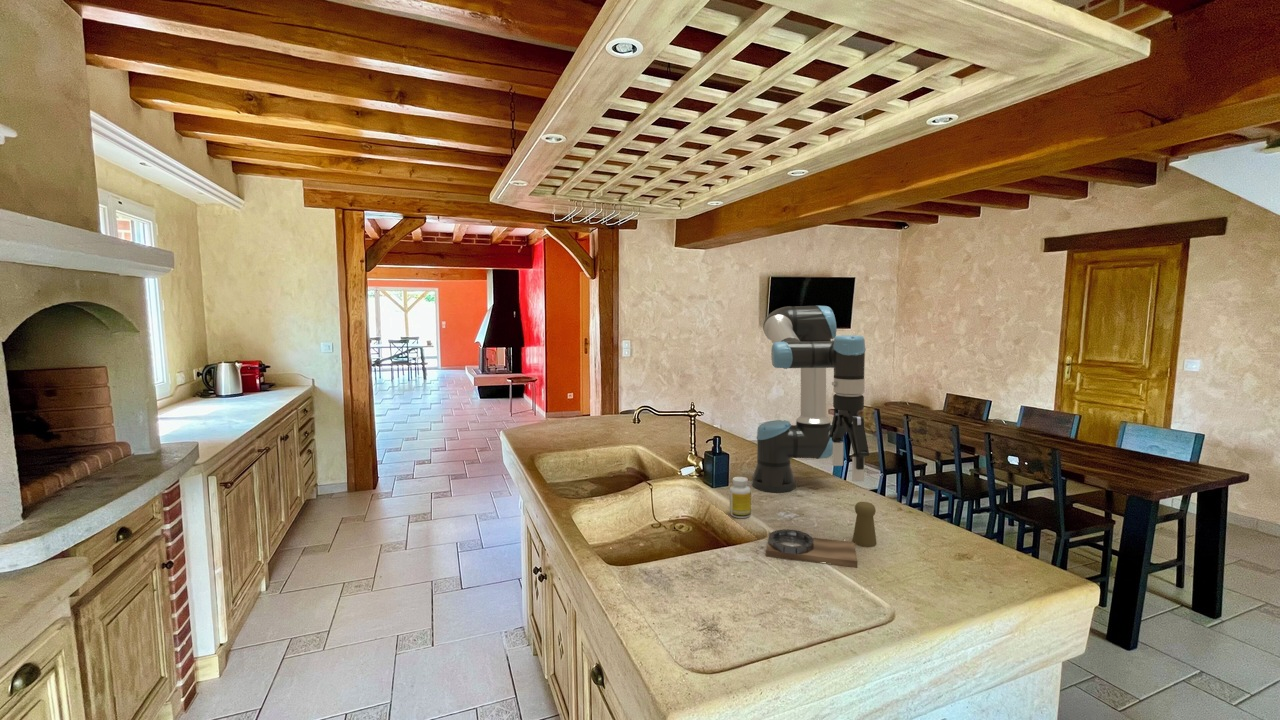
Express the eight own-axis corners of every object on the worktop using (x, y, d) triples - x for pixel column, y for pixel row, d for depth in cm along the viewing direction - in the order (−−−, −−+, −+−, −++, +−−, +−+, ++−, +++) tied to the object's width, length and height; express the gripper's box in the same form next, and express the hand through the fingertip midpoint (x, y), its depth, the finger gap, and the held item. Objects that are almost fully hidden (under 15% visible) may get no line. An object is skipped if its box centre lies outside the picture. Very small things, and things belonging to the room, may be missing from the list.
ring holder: (770, 532, 145) (770, 527, 145) (813, 537, 142) (813, 532, 142) (767, 550, 135) (767, 545, 135) (813, 556, 131) (813, 550, 131)
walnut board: (769, 538, 146) (769, 532, 145) (853, 547, 139) (854, 542, 138) (766, 556, 135) (766, 550, 135) (857, 567, 128) (857, 561, 128)
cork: (872, 537, 145) (872, 499, 144) (879, 547, 139) (880, 507, 138) (849, 537, 145) (850, 499, 144) (856, 546, 139) (857, 507, 138)
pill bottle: (752, 518, 159) (752, 482, 158) (731, 519, 159) (731, 482, 158) (748, 510, 166) (748, 475, 164) (728, 511, 166) (728, 475, 165)
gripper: (818, 387, 149) (817, 459, 151) (853, 402, 124) (852, 488, 126) (844, 387, 149) (843, 459, 151) (885, 401, 124) (883, 488, 126)
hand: (847, 472), depth 138 cm, fingers open, 13 cm apart
